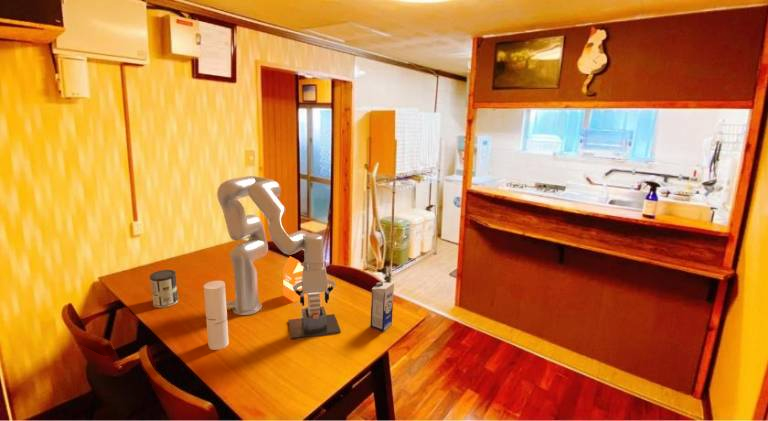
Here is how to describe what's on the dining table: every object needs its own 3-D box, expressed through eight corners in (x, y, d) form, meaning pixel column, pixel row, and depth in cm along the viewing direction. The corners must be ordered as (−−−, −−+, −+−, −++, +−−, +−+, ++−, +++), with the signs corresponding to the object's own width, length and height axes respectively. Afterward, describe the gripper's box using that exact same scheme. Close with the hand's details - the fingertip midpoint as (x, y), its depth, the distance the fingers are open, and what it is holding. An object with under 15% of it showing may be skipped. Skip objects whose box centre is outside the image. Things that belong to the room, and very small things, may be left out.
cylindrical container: (212, 339, 149) (207, 280, 143) (231, 338, 149) (227, 280, 143) (205, 350, 142) (200, 289, 136) (225, 349, 143) (221, 289, 136)
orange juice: (297, 291, 192) (296, 254, 187) (306, 297, 186) (306, 259, 181) (283, 295, 186) (282, 257, 181) (292, 302, 180) (292, 263, 175)
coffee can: (168, 295, 182) (165, 268, 178) (183, 300, 178) (180, 272, 174) (147, 304, 173) (144, 275, 169) (162, 309, 168) (159, 280, 165)
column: (309, 328, 157) (309, 298, 153) (308, 322, 161) (307, 292, 158) (320, 327, 158) (320, 296, 155) (318, 321, 162) (318, 291, 159)
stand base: (291, 339, 150) (290, 320, 148) (288, 321, 163) (288, 303, 161) (340, 333, 157) (341, 314, 155) (334, 316, 170) (334, 298, 167)
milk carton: (383, 332, 159) (385, 288, 154) (370, 327, 162) (371, 284, 157) (392, 324, 165) (394, 282, 160) (379, 320, 168) (380, 278, 163)
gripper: (293, 270, 147) (294, 310, 151) (336, 266, 152) (336, 304, 156) (291, 263, 154) (292, 301, 158) (333, 259, 159) (333, 296, 163)
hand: (314, 303), depth 157 cm, fingers open, 9 cm apart
